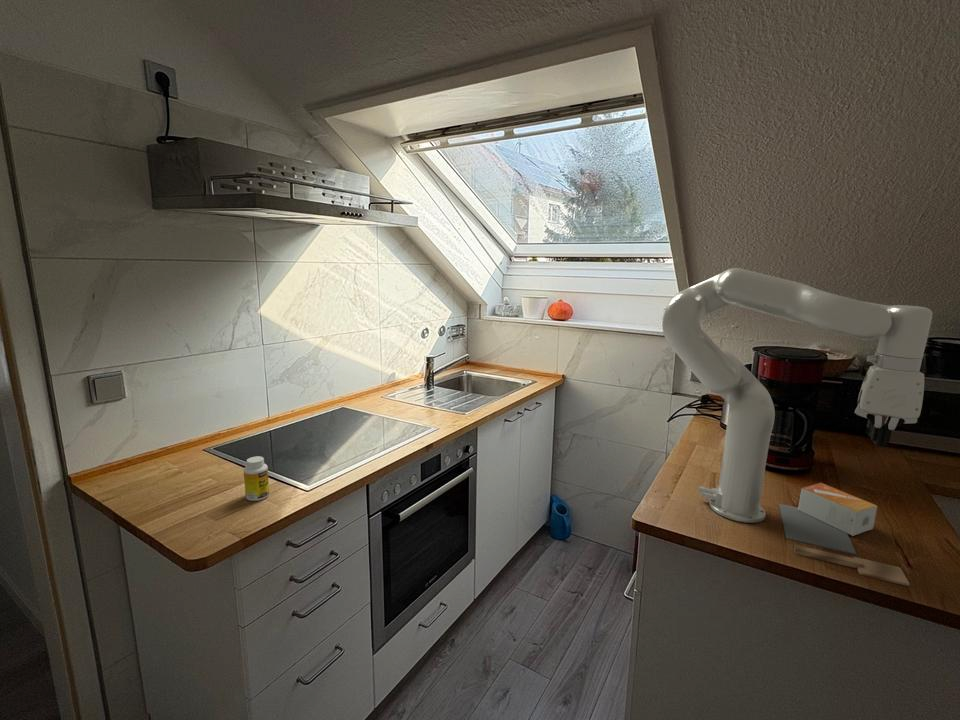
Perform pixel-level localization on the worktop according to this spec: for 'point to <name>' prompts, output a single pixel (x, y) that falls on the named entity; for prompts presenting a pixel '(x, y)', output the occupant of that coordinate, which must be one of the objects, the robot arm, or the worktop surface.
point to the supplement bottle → (256, 479)
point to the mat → (813, 530)
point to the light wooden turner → (858, 565)
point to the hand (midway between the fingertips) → (878, 444)
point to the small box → (837, 508)
